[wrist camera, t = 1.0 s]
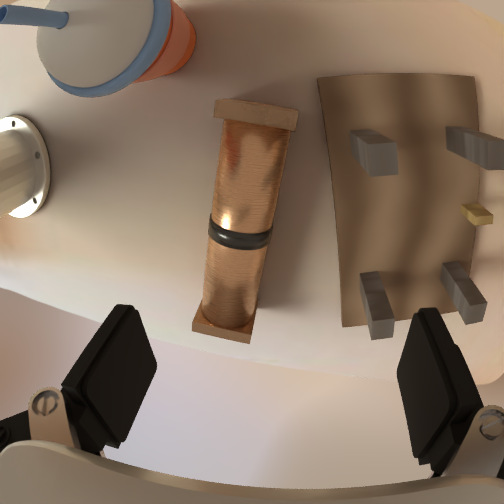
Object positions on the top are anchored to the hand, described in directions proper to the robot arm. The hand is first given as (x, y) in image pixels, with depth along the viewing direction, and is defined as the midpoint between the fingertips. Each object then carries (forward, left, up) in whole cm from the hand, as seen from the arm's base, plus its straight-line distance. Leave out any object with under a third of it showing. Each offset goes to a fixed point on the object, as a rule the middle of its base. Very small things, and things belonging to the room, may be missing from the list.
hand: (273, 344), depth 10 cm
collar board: (+11, -4, -19) cm, 22 cm away
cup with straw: (-8, +14, -19) cm, 26 cm away
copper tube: (-4, -3, -19) cm, 20 cm away
